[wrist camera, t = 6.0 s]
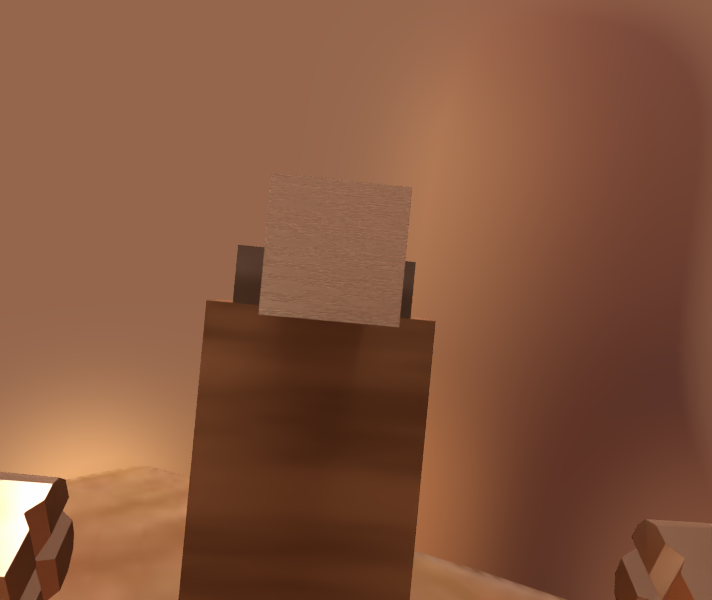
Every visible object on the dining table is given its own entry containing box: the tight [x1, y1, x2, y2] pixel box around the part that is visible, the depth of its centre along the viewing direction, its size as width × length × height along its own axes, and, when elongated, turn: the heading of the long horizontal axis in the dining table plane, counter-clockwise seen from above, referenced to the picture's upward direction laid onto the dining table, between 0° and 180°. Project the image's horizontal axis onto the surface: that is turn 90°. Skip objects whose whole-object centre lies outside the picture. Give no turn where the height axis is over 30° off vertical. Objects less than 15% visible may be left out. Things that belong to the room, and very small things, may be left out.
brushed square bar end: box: [258, 173, 412, 327], centre depth 27 cm, size 26×3×3 cm, turn 4°
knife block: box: [179, 245, 435, 600], centre depth 30 cm, size 13×10×27 cm
